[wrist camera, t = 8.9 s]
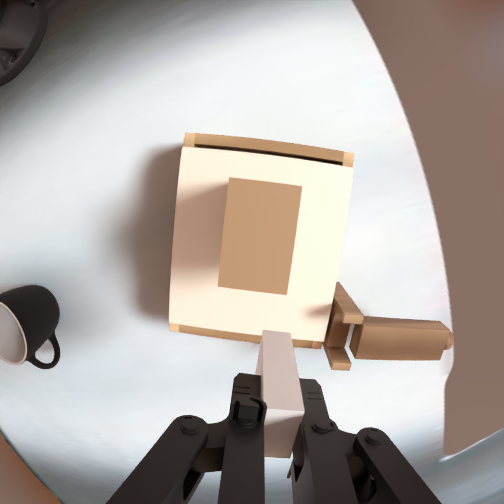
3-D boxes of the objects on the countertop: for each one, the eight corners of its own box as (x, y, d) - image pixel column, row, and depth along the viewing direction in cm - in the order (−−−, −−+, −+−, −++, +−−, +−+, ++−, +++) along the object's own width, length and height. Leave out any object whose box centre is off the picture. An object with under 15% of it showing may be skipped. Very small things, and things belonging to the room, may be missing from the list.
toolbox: (197, 140, 35) (172, 124, 25) (357, 161, 35) (391, 154, 24) (182, 309, 39) (157, 349, 29) (329, 327, 39) (349, 371, 28)
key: (356, 315, 30) (363, 325, 28) (447, 321, 30) (458, 330, 28) (349, 346, 31) (355, 358, 29) (438, 349, 31) (448, 360, 28)
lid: (187, 149, 30) (148, 132, 19) (347, 169, 30) (390, 162, 19) (174, 314, 34) (138, 368, 23) (320, 332, 33) (342, 393, 22)
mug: (14, 295, 40) (-28, 318, 30) (43, 265, 38) (-3, 286, 29) (57, 359, 42) (22, 392, 32) (90, 336, 40) (53, 371, 30)
